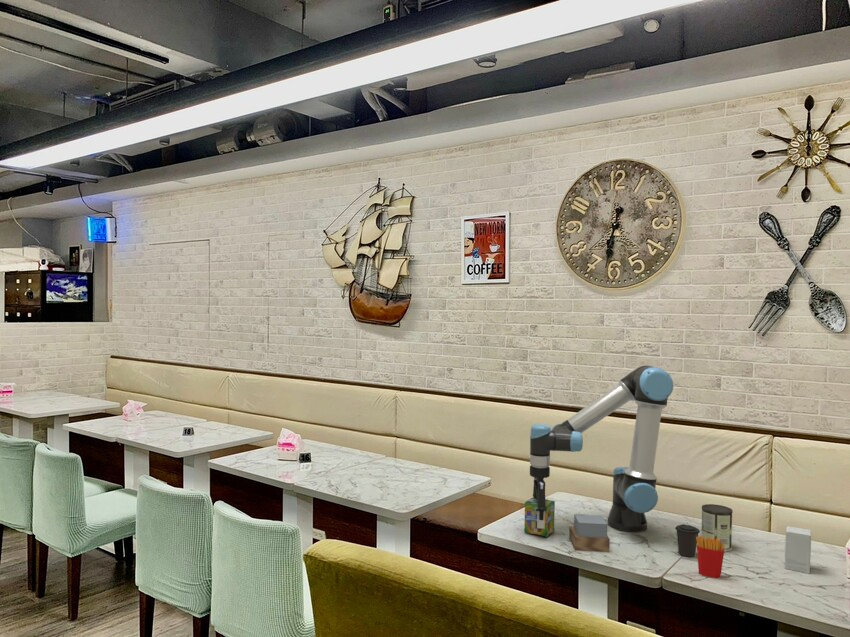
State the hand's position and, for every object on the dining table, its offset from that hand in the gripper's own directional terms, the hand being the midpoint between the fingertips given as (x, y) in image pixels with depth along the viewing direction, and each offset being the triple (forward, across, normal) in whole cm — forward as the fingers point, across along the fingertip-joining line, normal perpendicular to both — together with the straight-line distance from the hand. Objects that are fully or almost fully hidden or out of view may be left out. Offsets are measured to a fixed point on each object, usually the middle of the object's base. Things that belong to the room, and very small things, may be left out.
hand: (538, 522), depth 238 cm
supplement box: (+5, +23, +84) cm, 87 cm away
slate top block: (-1, +12, +17) cm, 21 cm away
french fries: (+4, +33, +51) cm, 61 cm away
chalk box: (+4, 0, 0) cm, 4 cm away
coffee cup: (+4, +16, +50) cm, 52 cm away
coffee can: (+5, +6, +64) cm, 64 cm away
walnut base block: (+4, +11, +17) cm, 20 cm away
